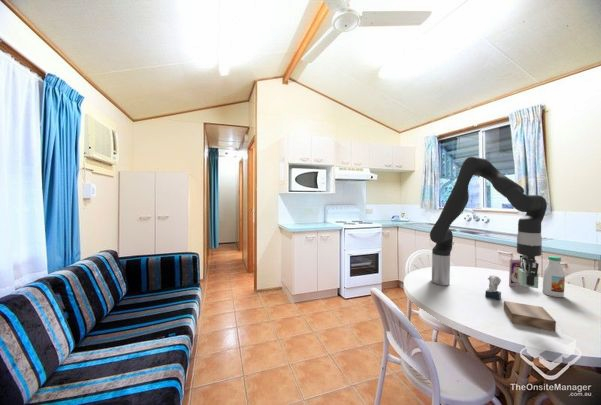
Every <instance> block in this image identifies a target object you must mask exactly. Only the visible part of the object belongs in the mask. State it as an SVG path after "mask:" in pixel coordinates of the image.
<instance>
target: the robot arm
mask: <svg viewBox="0 0 601 405" xmlns="http://www.w3.org/2000/svg"><path fill="white" fill-rule="evenodd" d="M474 176H477V177H481V178H482V179H483V178H484V179H485V180H487V181H488V182H489V183H491V186H492V187H493V189H495V190H496V192H498V193H499V194H500V195H501V196H503V197H504V198H506V199H507V201H508V202H509V203H510V205H511V206H512V208H514V209H515V210H517V211H519V212H522V213H525V216H523V217H521V218H519V219H518V222H517V235H516V254H519V259H520V268H521V269H525V270H526V275H527V283H526V284H527V285H529V286H534V277H537V273H538V272H539V271H538V270H539V262H537V260H536V257H541V256H542V246H543V245H542V244H543V241H542V240H543V238H542V223H543V220H544V217H545V214H546V213H547V207H548V202H547V200H546V199H545V196H544V197H543V195H539V194H525V189H524V188H523V187H522V185H520V184H518V183H517V182H515V180H514V181H513V180H512V179H510V178H509V177H507V176H506V175H504V173H502V172H501V171H499V170H498V169H497V168H496V167H495V166H494V165H493V164H492V163H491V161H489V160H488V159H487V158H484V157H478V156H468V157H466V158H465V160H464V161H463V162H462V164H461V167H460V170H459V171H458V175H457V178H456V180H455V182H454V185H453V188H452V190H451V192H450V194H449V196H448V197H447V200H446V201H445V204H444V205H443V209H442V210H441V212H440V213H439V217H438V218H437V220H436V222H434V225H433V227H432V228H431V230H430V232H429V238H430V241H432V243H435V245H434V246H433V248H432V250H431V251H432V252H431V284H436V285H437V286H449V285H450V283H451V282H450V280H451V278H450V277H451V275H450V274H451V252H452V250H453V240H454V235H453V232H452V231H453V230H451V228H450V226H451V225H452V223H453V222H454V221H456V219H458V218H459V216H460V215H461V214H462V213H463V212H464V210H465V208H466V206H467V204H468V203H469V199H470V197H469V196H470V195H469V185H470V182H471V180H472V179H473V177H474ZM523 264H524V265H523ZM531 271H532V272H533V273H531ZM538 274H539V273H538Z"/></svg>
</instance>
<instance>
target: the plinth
mask: <svg viewBox="0 0 601 405" xmlns="http://www.w3.org/2000/svg"><path fill="white" fill-rule="evenodd" d="M503 310H504V312H505V314H506V316H507V317H508V319H509V321H510V322H511V324H515V325H521V326H526V327H529V328H530V327H531V328H537V329H540V328H541V329H540V330H545V329H547V331H551V330H553V331H552V332H556V329H557V328H556V327H557V325H556V324H557V321H556V320H555V319H554V318H553V316H552V315H551V314H550V313H549V312H548V311H547V310H546V309H545V308H544V307H543V306H539V305H532V304H526V303H519V302H514V301H507V300H503Z"/></svg>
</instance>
